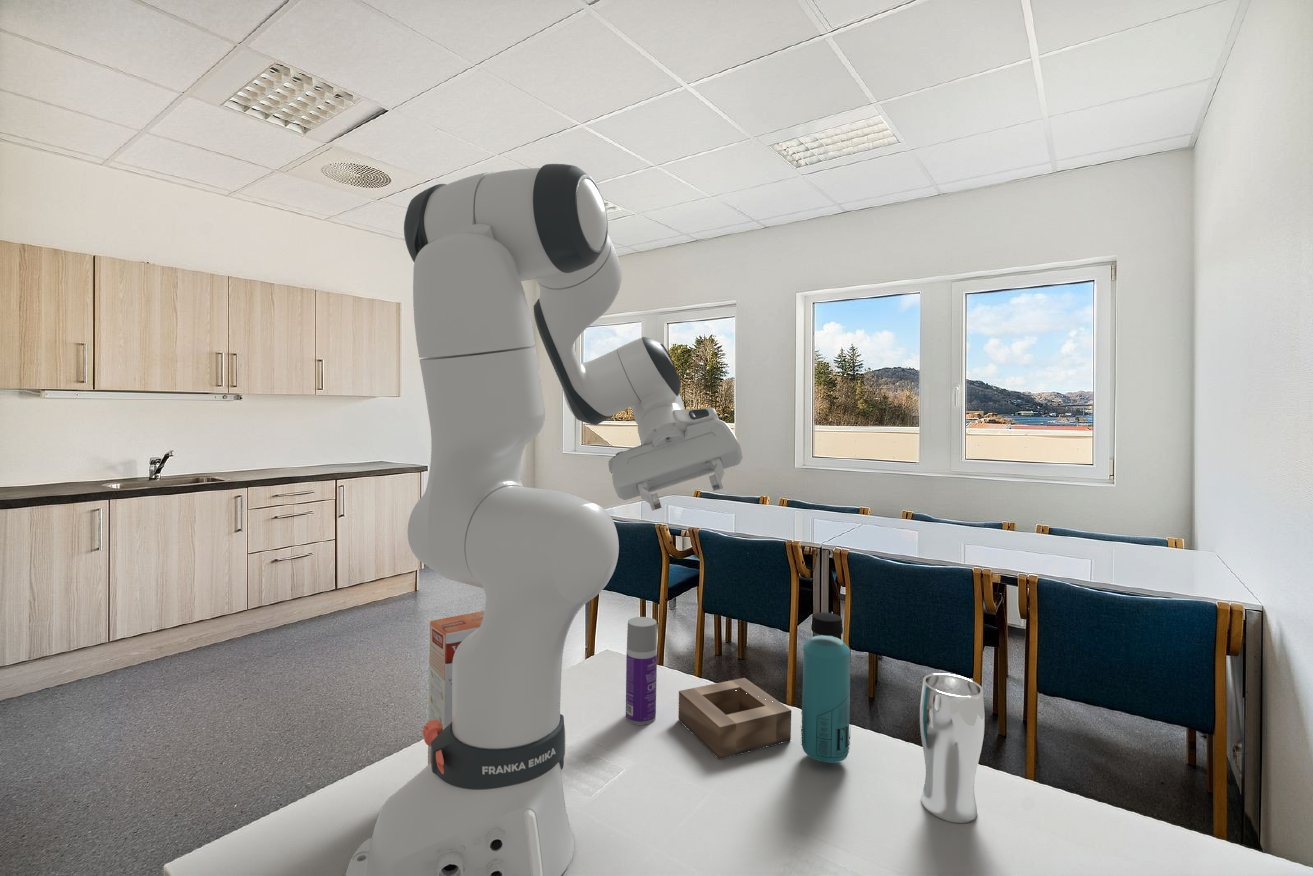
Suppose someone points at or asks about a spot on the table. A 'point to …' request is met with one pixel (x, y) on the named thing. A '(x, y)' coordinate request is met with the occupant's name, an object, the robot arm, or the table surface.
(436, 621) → the cracker box
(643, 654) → the container
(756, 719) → the socket block
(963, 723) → the beer glass
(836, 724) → the beverage bottle
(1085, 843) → the table surface
